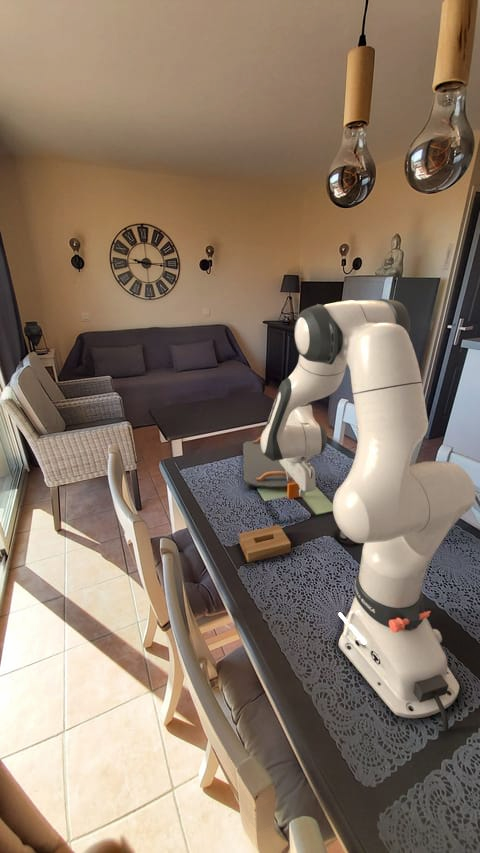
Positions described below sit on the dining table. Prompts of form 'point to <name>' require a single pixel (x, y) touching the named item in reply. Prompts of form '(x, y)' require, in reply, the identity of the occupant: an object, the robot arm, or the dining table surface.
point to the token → (292, 490)
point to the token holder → (264, 543)
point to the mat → (312, 498)
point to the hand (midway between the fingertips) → (295, 488)
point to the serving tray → (261, 467)
